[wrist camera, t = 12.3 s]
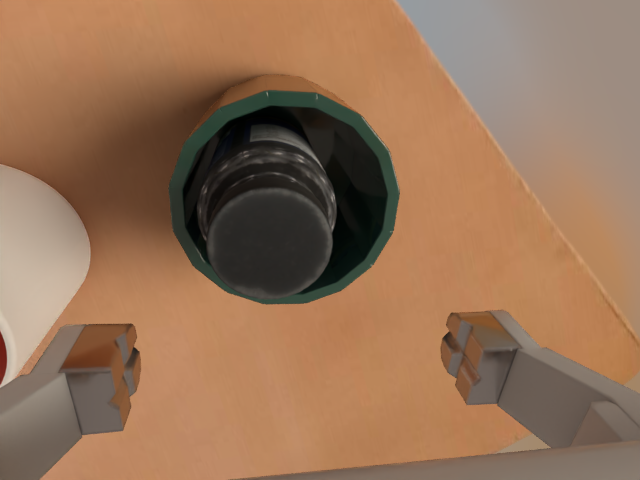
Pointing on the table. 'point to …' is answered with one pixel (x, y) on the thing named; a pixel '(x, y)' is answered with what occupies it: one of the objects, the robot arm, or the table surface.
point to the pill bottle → (266, 209)
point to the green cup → (335, 157)
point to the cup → (35, 264)
